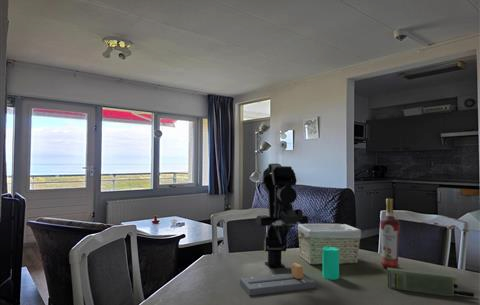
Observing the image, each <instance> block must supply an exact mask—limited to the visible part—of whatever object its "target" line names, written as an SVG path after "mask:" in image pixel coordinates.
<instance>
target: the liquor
mask: <svg viewBox="0 0 480 305" xmlns="http://www.w3.org/2000/svg"><path fill="white" fill-rule="evenodd" d="M385 204H386V211H385V217H383V218H381V219H380V220H379V222H380V223H379V224H380V225H379V226H380V239H381V240H380V241H381V245H380V246H381V262H380V264H381V265H382V266H383V267H384V268H385V269H387V268H396V269H398V267H400V264H399V245H400V244H399V242H400V226H401V225H400V224H401V222H400V221H399V220H398V219H397V218H395V217H394V208H393V207H394V198H386V199H385Z"/></svg>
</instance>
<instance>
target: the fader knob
mask: <svg viewBox="0 0 480 305" xmlns="http://www.w3.org/2000/svg"><path fill="white" fill-rule="evenodd" d="M291 273H292V276H294V277H295V278H296V279H300V278H303V273H304V266H303V265H302V264H300V263H298V262H293V263H291Z"/></svg>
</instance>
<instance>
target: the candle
mask: <svg viewBox="0 0 480 305" xmlns="http://www.w3.org/2000/svg"><path fill="white" fill-rule="evenodd" d="M321 265H322V277H323V278H324V279H327V280H338V279H339V278H340V264H339V249H337V248H335V247H323V248H322V264H321Z"/></svg>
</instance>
